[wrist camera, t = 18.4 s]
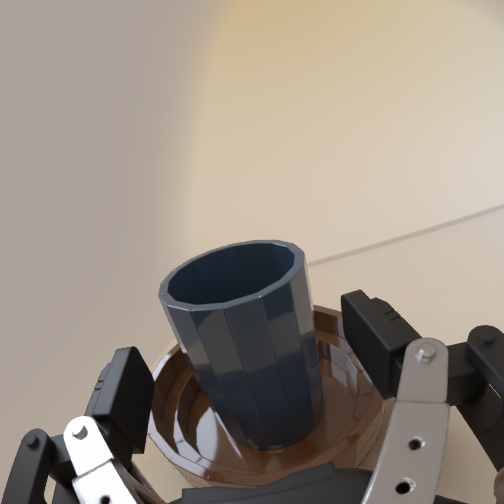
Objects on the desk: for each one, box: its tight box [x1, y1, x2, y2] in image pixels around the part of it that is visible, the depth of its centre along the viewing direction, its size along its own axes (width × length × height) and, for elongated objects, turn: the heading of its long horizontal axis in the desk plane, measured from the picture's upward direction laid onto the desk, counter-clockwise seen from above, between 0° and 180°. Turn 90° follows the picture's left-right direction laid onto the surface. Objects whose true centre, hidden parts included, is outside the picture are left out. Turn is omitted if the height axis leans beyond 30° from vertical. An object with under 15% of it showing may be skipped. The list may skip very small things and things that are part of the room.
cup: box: [158, 240, 325, 450], centre depth 15 cm, size 7×7×10 cm
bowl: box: [147, 305, 386, 489], centre depth 16 cm, size 14×14×4 cm
